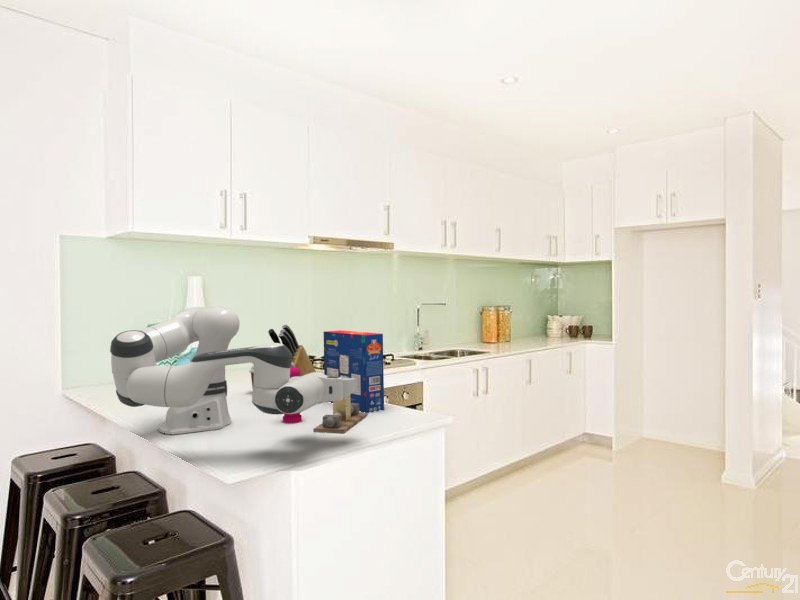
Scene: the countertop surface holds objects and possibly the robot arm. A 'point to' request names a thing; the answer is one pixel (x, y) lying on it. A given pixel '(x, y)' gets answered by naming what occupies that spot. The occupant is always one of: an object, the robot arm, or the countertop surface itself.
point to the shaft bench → (343, 425)
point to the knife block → (293, 349)
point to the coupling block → (343, 408)
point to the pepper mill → (295, 417)
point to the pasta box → (357, 365)
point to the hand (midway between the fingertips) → (330, 380)
